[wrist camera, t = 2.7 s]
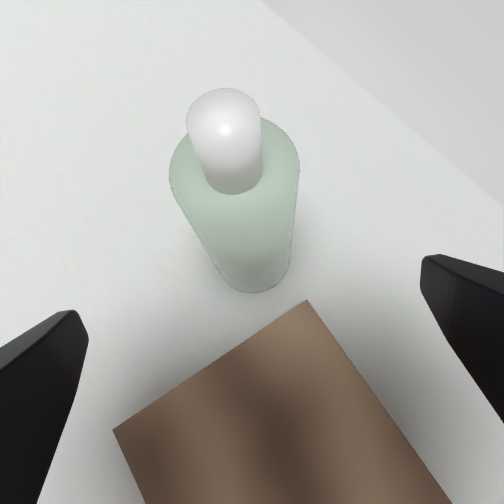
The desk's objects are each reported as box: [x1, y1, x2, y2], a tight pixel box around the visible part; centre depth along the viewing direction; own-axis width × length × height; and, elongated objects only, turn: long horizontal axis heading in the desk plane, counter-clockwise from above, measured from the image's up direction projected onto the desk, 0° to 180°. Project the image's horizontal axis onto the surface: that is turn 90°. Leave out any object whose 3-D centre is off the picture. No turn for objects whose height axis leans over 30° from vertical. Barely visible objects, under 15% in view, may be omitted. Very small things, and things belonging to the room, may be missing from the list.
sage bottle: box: [169, 88, 300, 293], centre depth 15 cm, size 4×4×12 cm
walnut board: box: [113, 300, 452, 504], centre depth 17 cm, size 12×12×1 cm
